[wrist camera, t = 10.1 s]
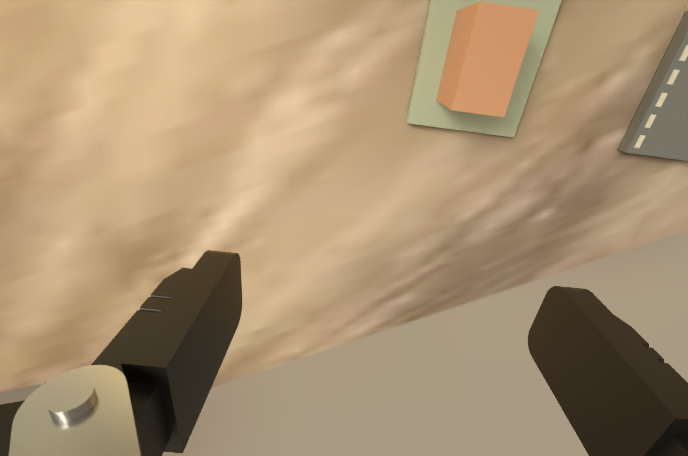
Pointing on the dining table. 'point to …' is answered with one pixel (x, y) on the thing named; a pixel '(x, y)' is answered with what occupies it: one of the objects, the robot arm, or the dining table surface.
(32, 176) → the dining table surface
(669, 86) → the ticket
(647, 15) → the dining table surface
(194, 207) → the dining table surface
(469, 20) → the green plate orange block
